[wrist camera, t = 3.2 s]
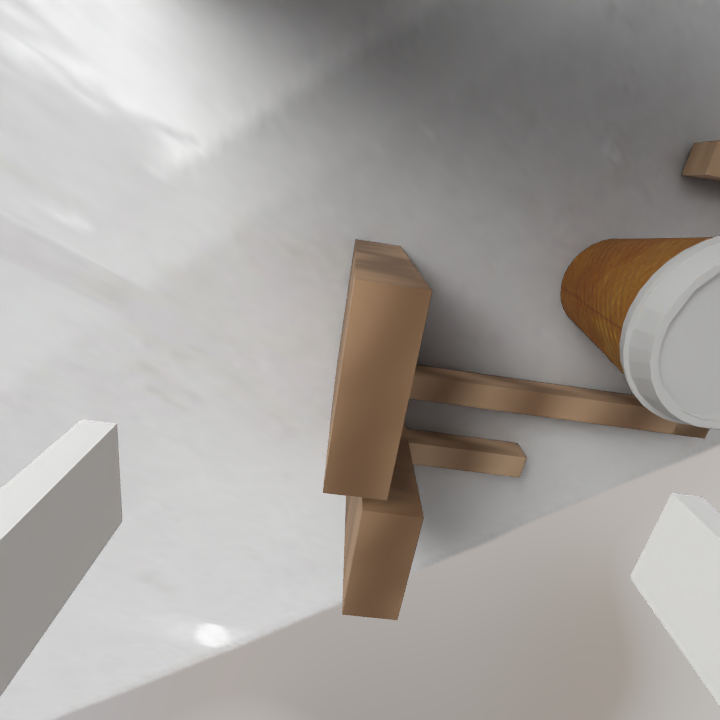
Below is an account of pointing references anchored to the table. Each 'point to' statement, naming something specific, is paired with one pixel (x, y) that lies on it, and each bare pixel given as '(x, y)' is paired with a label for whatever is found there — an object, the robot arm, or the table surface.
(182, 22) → the table surface
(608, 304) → the disposable coffee cup
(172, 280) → the table surface
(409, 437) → the wooden mallet
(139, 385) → the table surface
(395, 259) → the bent wooden rail
